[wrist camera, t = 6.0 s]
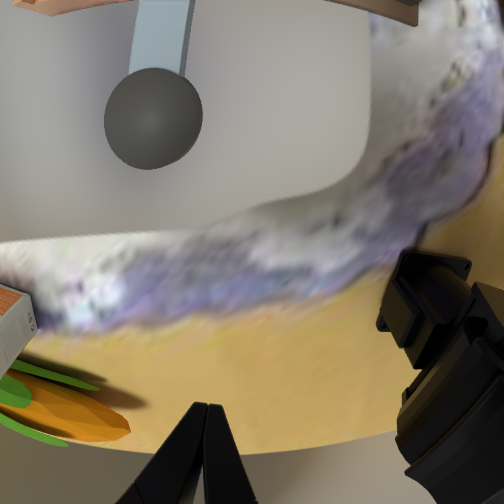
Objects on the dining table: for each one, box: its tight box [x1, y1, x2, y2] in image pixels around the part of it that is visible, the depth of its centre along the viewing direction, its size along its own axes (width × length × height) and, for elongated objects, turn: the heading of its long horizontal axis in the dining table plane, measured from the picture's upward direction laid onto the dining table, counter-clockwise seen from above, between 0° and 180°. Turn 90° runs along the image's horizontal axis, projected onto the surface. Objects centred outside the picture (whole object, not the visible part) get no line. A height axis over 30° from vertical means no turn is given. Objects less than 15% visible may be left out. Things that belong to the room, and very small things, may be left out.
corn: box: [0, 359, 131, 446], centre depth 23 cm, size 7×8×20 cm
